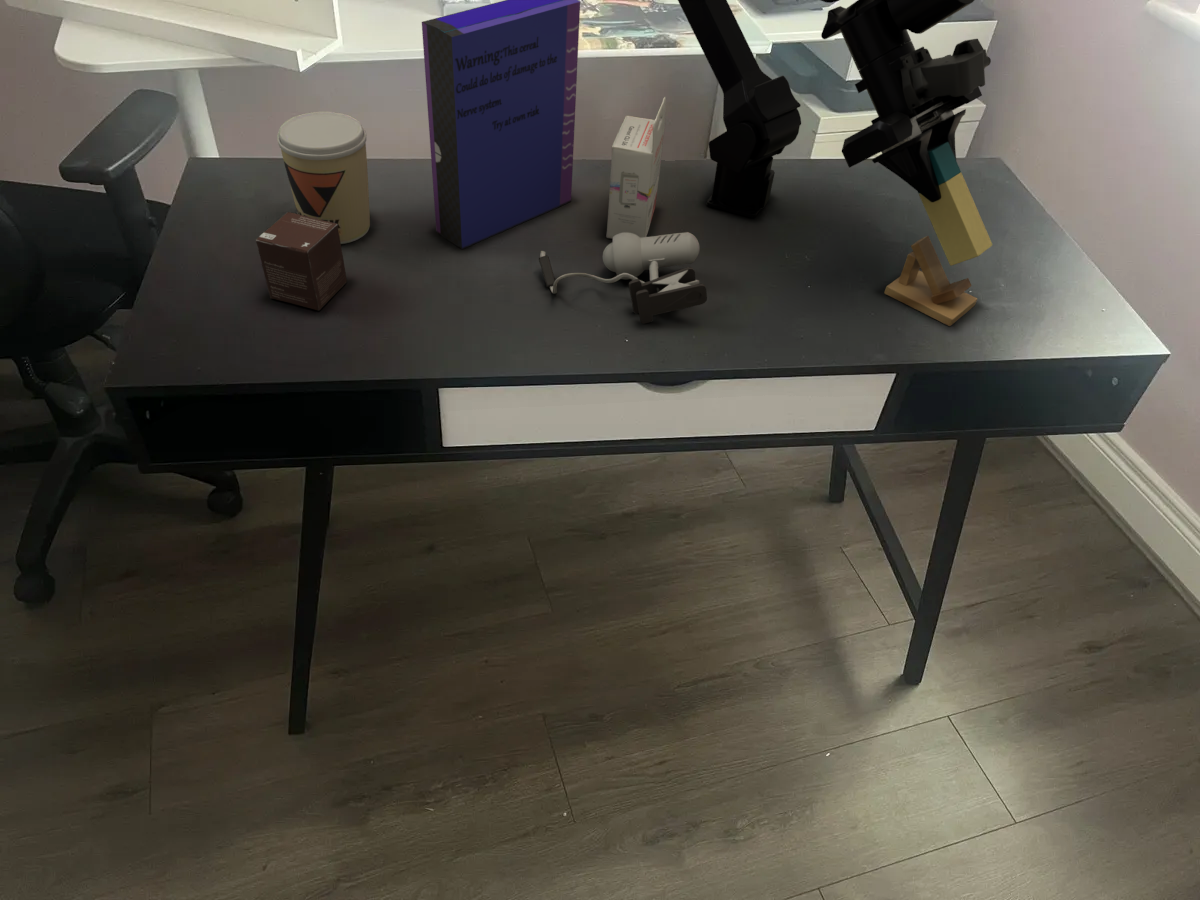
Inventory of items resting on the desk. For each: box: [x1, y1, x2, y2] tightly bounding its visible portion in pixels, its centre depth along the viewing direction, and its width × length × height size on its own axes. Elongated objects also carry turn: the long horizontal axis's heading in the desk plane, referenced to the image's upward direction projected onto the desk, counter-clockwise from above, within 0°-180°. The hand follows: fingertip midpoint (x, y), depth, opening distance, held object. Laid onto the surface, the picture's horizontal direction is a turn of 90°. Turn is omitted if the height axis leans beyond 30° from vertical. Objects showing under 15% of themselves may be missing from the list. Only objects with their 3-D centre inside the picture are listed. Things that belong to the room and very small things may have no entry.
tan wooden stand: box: [884, 235, 978, 327], centre depth 101 cm, size 8×6×6 cm
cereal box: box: [421, 0, 581, 250], centre depth 102 cm, size 17×5×24 cm, turn 135°
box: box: [255, 211, 348, 311], centre depth 95 cm, size 6×6×7 cm
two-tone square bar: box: [916, 142, 993, 267], centre depth 97 cm, size 11×3×11 cm, turn 46°
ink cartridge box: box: [605, 96, 667, 240], centre depth 106 cm, size 9×5×15 cm, turn 168°
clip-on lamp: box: [538, 231, 708, 325], centre depth 99 cm, size 12×6×18 cm
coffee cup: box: [276, 111, 371, 245], centre depth 102 cm, size 9×9×12 cm
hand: (945, 194), depth 96 cm, fingers closed on two-tone square bar, 3 cm apart
